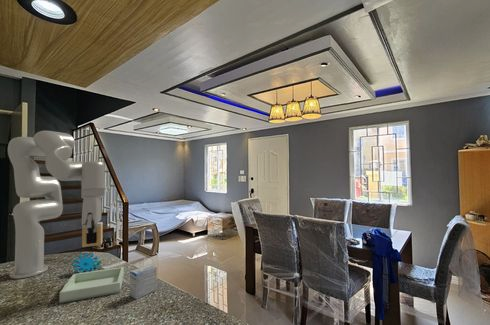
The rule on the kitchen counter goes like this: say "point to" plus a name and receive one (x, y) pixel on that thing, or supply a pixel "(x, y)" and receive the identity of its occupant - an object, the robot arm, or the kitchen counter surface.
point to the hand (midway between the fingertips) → (92, 241)
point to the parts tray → (92, 284)
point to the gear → (86, 263)
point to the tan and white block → (99, 234)
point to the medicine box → (143, 281)
